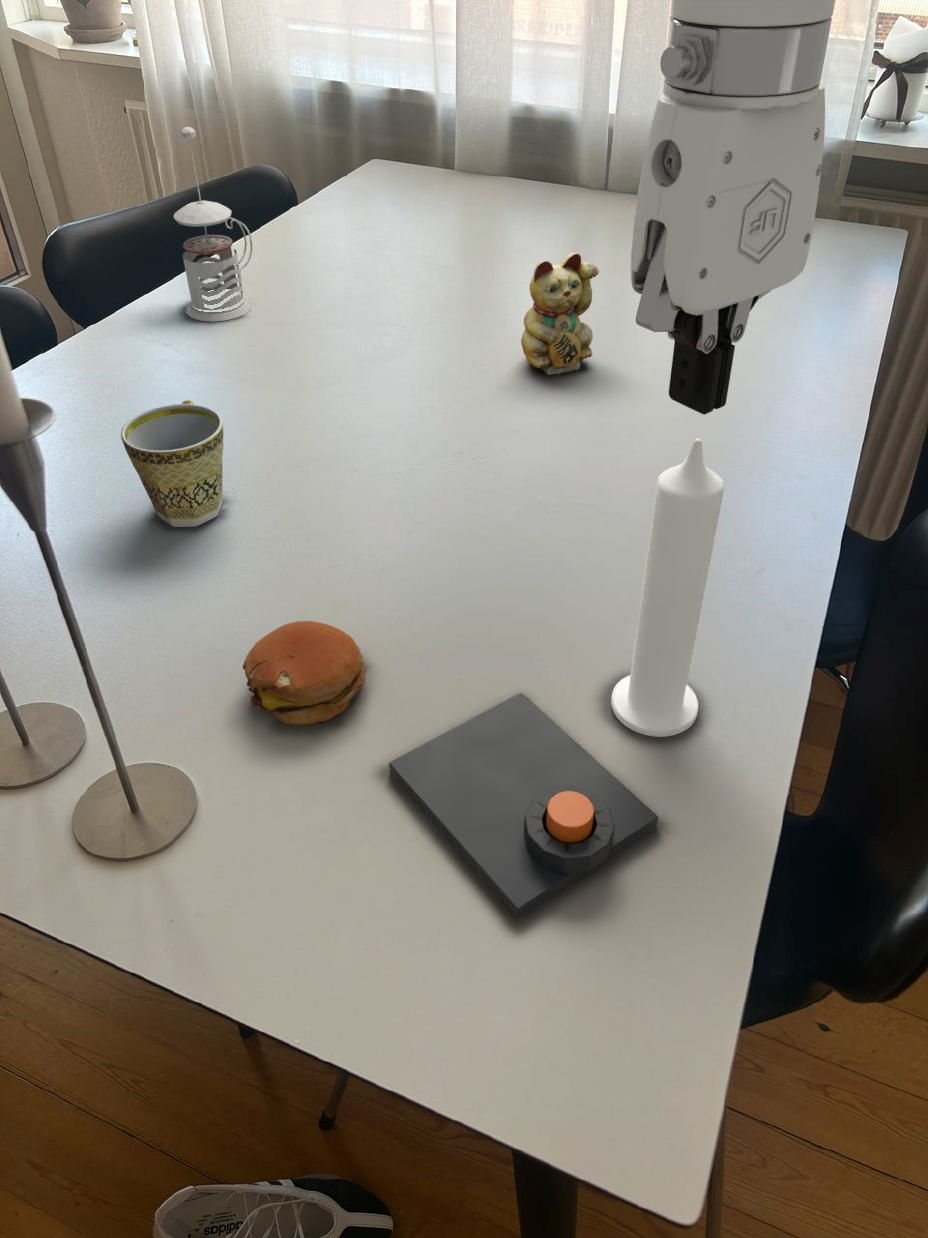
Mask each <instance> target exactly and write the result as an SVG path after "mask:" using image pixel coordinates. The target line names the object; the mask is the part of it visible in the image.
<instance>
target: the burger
mask: <svg viewBox="0 0 928 1238" xmlns="http://www.w3.org/2000/svg"><path fill="white" fill-rule="evenodd" d="M360 650H361V649H360V648H359V645H358V643H356V641H355V640H354V638H352V637H351V635H349V634H348V633H346V632H345V631H344V630H342V629H340V628H338V627H335V626H333V625H331V624H327V623H323V622H319V621H314V620H298V621H297V620H296V621H292V622H290V623H289V622H288V623H286V624H284V625H281V626H279V627H277V628H276V629H273V630H272V631H270V632H269V633H268V634H266V635H264V636H263V637H261V638H260V639H259V640H258V641H256V642H255V643H254V645H253V646H252V647H251V649H250V650H249V651H248V653H247V655H246V657H245V659H244V661H243V663H242V669H243V670H244V674H245V678H246V679H247V682H246V686H248V691H249V692H251V693H252V694H253V695H252V696H251V697H250V703H251V704H252V705H253V706H254V707H255V708H257V707H258V708H259V709H260V710H262V711H264V712H267V713H270V714H272V715H274V716H275V717H276V719H277V720H278V721H280V722H281V723H282V724H286V725H290V726H313V725H315V726H316V725H317V724H318V723H321V722H327V721H329V720H331V719H333V718H335V717H336V716H338V715H339V714H341V713H343V712H344V711H345V710H346V709H347V707H348V706H349V704H350V700H351V699H352V698H353V697H354V696H356V694H357V693H358V692H359V691H360V690H361V688H362V686H363V683H364V681H365V674H366V667H365V663H364V660H363V655H362V653H361V651H360Z"/></svg>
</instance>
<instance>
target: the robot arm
mask: <svg viewBox="0 0 928 1238" xmlns="http://www.w3.org/2000/svg"><path fill="white" fill-rule="evenodd" d="M835 5H836V0H671V4H670V13H669V14H670V17H669V23H668V37H667V46H666V48H665V49H664V50H663V52H662V54H661V57H660V61H659V62H660V63H659V65H660V71H661V73H662V75H663V76H664V78H663V79H664V80H663V88H662V93H663V95H661V96H659V97H658V99H657V102H656V105H655V109H654V112H653V116H652V120H651V125H650V128H649V133H648V138H647V141H646V147H645V152H644V156H643V161H642V167H641V173H640V178H639V184H638V190H637V197H636V204H635V209H634V217H633V228H632V236H631V247H630V248H631V250H630V281H631V286H632V289H633V291H634V292H635V293H637V294H640V299H639V303H638V307H637V311H636V315H635V324H636V325H637V326H638V327H642V328H644V329H647V330H649V331H651V332H653V333H667V337H668V338H669V339H670V340H672V341H674V344H673V352H672V359H671V360H672V361H671V369H670V375H669V376H670V377H669V386H668V396H669V398H670V399H671V400H672V401H674V402H676V403H679V404H680V405H682V406H684V407H687V408H688V409H691V410H693V411H695V412H697V413H699V414H701V415H708V414H709V413H711V412H714V410H718V409H719V410H720V409H721V408H723V407H724V406H726V404H727V400H728V393H729V386H730V380H731V374H732V369H733V368H732V367H733V361H734V354H735V349H736V345H735V344H733V343H738V342H739V341H740V340H741V339H742V338H743V336H744V335H745V331H746V328H747V324H748V320H749V317H750V312H751V311H752V309H753V308H754V307H755V305H756V303H757V302H758V301H759V300H760V299H761V298H763V297H764V296H766V295H768V294H769V293H770V292H772V291H773V290H776V289H778V288H780V287H782V286H785V285H787V284H789V283H791V282H792V281H793V280H795V279H796V278H797V277H799V276H800V275H801V274H802V272H803V271H804V269H805V267H806V265H807V261H808V257H809V252H810V248H811V243H812V237H813V231H814V225H815V220H816V214H817V213H816V211H817V205H818V200H819V199H818V198H819V192H820V183H821V175H822V167H823V158H824V157H823V156H824V144H825V132H826V131H825V128H826V96H825V95H826V94H825V92H826V91H825V90H826V89H825V86H823V85H822V84H821V80H822V76H823V69H824V64H825V59H826V53H827V47H828V42H829V38H830V32H831V28H832V27H831V26H832V21H833V18H832V17H833V15H834V10H835Z"/></svg>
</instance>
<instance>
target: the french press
mask: <svg viewBox="0 0 928 1238" xmlns="http://www.w3.org/2000/svg"><path fill="white" fill-rule="evenodd" d="M180 135H181V138H183V139H188V142H189V143H188V144H189V147H190V152H191V159H192V165H193V171H194V175H195V176H194V177H195V182H196V186H197V193H198V199H199V200H197V201H193V202H190V203H187V204H186V205H184V206H183V207H181V208H180V209H178V210H177V211H176V212H174V214H173V219H174V221H176V222H177V224H179V225H182V226H186V227H196V228H197V227H204V232H205V235H199V236H198V235H196V236H195V237H191V238H187V239H186V240H185V241H184V242H183V243H182V248H183V249H184V250H185V251H184V252H183V254H182V259H183V265H184V270H185V275H186V279H187V281H186V282H187V285H188V292H189V296H190V301H191V302H190V303H189V305H188V306H187V307H186V312H185V313H186V315H187V316H188V317H189V318H192V319H194V320H197V321H204V322H225V321H228V320H229V321H230V320H233V319H237V318H239V317H242V316H244V315H247V314H248V313H249V312H250V311H251V310H252V308H253V307H252V306H253V303H252V302H250V301H249V299H247V297H244V302H243V303H242V304H241V305H240V306H238V307H237V308H234V309H232V310H228V311H222V312H204V311H199V310H197V309H201V310H210V311H211V310H218V309H224V308H227V307H231V306H233V305H235V304H237V303H238V302H240V301H241V300H242V299H243V294H244V289H243V281H242V274H241V272H242V270H243V269H245V267H246V266H247V265H248V264H249V263H250V260H251V257H252V254H253V240H252V239H253V238H252V235H251V232H250V230H249V229H248V226H247V225H246V224H245V223H244V222H242V221H241V220H238V219H236V218H234V217H231V216H232V210H231V209H230V208H229V207H227V206H226V205H223V204H221V203H219V202H216V201H209V200H202V197H201V192H200V187H199V180H198V175H197V169H196V163H195V157H194V152H193V147H192V140H191V139H193V138H196V137H197V132H196V131H195V129H193V128H192V127H191V126H186V127H183V128H182V130H181V131H180ZM228 220H230V226H229V225H228ZM233 222H235V223H236V224H238V226H239V228H240V230H241V231H242V234H243V239H244V249H243V254H242V256H241V258H240V260H239V257H238V251H237V250H236V249H235V248H233V250H232V246H233V244H234V243H233V242H234V240H233V239H232V238H231V237H229V236H227V235H222V234H219V235H218V234H208V232H207V227H208V226H209V227H210V226H215V225H216V226H217V225H219V224H222V223H225V227H226V228H227V229H230V230H233V229H234V228H233V227H234V226H233ZM243 227H244V228H243ZM244 229H245V230H246V232H247V235H248V237H249V245H250V250H249V257H248V259H247V260H246V262H245V263H244V264H243V265H242V266H241V267H240V264H241V263H242V262H243V259H244V258H245V256H246V252H247V244H248V243H247V235H246V233H245V230H244ZM233 252H234V255H233ZM212 254H215V255H217V256H219V258H216V257H211V256H204V257H201V258H199V259H197V260H196V261H194V260H195V259H196V258H197V257H198V256H200V255H212ZM219 274H222V275H219ZM236 274H237V275H236ZM209 279H211V280H214V281H209V282H207V283H206V282H204V281H206V280H209ZM222 282H223V283H222ZM238 283H239V285H238ZM225 289H231V290H229V291H228V292H226V293H225V294H224V295H222V296H221V297H220V298H218V299H214V300H211V301H208V300H205V299H203V298H202V295H204V296H207V297H210V296H214V295H217V294H219V293H220V292H222V291H223V290H225ZM211 290H214V291H211ZM208 291H211V292H208ZM237 291H238V292H240V294H239V295H237V296H234V297H233V298H231V299H230V300H229V301H227V302H226V303H224V304H223V305H222V306H220V307H217V308H214V309H209V308H205V307H204V304H207V305H214V304H218V303H220V302H221V301H223V300H224V299H225V298H227V297H228V296H230V295H231V294H233V293H234V292H237ZM241 294H242V295H241ZM203 303H204V304H203ZM192 305H193V306H194V307H195V308H197V309H195V308H194V307H193V306H192Z"/></svg>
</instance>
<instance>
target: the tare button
mask: <svg viewBox="0 0 928 1238" xmlns="http://www.w3.org/2000/svg"><path fill="white" fill-rule="evenodd" d="M593 816H594V808H593V805H592V803H591V801H590V800H589V799H588V798H587V797H586V796H584V795H582V794H580V793H578V792H573V791H565V792H560V793H558V794H556V795H555V796H553V797H552V798H551V799H550V801H549V803H548V806H547V820H546V825H547V829H548V831H549V832H550V834H551V835H552V836H553V837H554V838H556V839H558V840H560V841H562V842H566V843H576V842H579V841H582V840H584V839H585V838H586V837H587V836H588V835H589V834H590V832H591V830H592V824H593Z"/></svg>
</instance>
